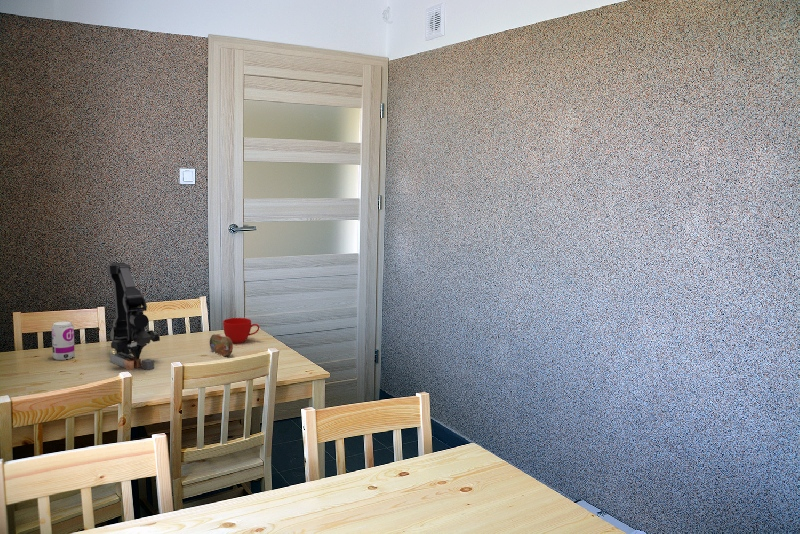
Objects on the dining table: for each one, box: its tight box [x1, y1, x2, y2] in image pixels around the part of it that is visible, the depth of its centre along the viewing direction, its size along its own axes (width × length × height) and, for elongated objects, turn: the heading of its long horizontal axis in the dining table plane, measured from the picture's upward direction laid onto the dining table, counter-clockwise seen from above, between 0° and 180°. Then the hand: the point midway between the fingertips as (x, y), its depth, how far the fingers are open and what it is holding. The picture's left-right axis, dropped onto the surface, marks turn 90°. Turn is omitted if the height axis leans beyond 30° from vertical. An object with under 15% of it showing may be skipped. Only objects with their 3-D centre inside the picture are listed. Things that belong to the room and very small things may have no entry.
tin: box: [209, 333, 234, 357], centre depth 298 cm, size 15×3×8 cm, turn 47°
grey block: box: [141, 358, 155, 371], centre depth 273 cm, size 4×3×3 cm
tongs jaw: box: [117, 352, 142, 369], centre depth 278 cm, size 14×2×3 cm, turn 52°
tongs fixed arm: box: [109, 349, 135, 371], centre depth 278 cm, size 18×3×4 cm, turn 50°
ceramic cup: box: [222, 317, 260, 344], centre depth 319 cm, size 13×17×10 cm
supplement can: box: [51, 320, 76, 361], centre depth 283 cm, size 8×8×15 cm
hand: (137, 361), depth 278 cm, fingers closed
